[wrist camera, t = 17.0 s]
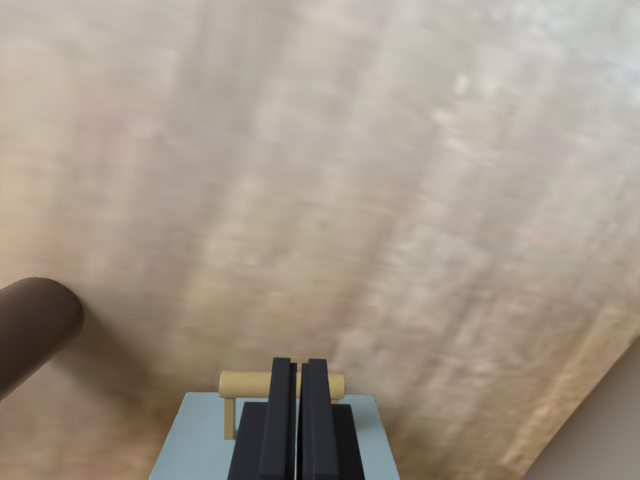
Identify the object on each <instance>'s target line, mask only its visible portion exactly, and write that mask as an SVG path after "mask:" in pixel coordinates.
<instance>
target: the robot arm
mask: <svg viewBox="0 0 640 480" xmlns="http://www.w3.org/2000/svg"><path fill="white" fill-rule="evenodd" d="M296 388H297V363H290V358H273V366H272V374H271V381H270V389H269V397H268V402H244V406H243V410H242V414H241V419H240V423H239V428H238V432H237V437H236V441H235V446H234V450H233V455H232V459H231V464H230V468H229V473H228V477H227V480H294V478H295V444H296ZM296 480H365V475H364V470H363V465H362V459H361V454H360V449H359V444H358V439H357V434H356V429H355V423H354V418H353V413H352V408H351V405H350V404H331V397H330V388H329V380H328V371H327V363H326V359H309V363H302V372H301V386H300V400H299V414H298V428H297V455H296Z"/></svg>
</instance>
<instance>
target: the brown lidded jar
mask: <svg viewBox="0 0 640 480" xmlns="http://www.w3.org/2000/svg"><path fill="white" fill-rule="evenodd" d="M82 324H83V311H82V308H81V305H80V303H79V301H78V299H77V298H76V297H75V295H74V294H73V293H72V292H71V291H70V290H69V289H67V288H66V287H65V286H63V285H61V284H60V283H58V282H55V281H53V280H50V279H45V278H36V277H35V278H26V279H22V280H19V281H17V282H15V283H13V284H11V285H9V286H7V287H5V288H3V289H1V290H0V402H1V401H2V400H3V399H5V398H6V397H7V396H8V395H9V394H10V393H12V392H13V391H14V390H15V389H16V388H17V387H18V386H20V385H21V384H22V383H23V382H24V381H25V380H27V379H28V378H29V377H30V376H31V375H32V374H34V373H35V372H36V371H37V370H38V369H39V368H40V367H42V366H43V365H44V364H45V363H46V362H47V361H49V360H50V359H51V358H52V357H53V356H54V355H55V354H57V353H58V352H59V351H60V350H61V349H62V348H64V347H65V346H66V345H67V344H68V343H69V342H70V341H72V340H73V339H74V338H75V337H76V336H77V335H78V333H79V332H80V330H81V327H82Z"/></svg>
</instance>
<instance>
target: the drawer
mask: <svg viewBox="0 0 640 480" xmlns="http://www.w3.org/2000/svg"><path fill="white" fill-rule="evenodd" d="M271 374H272V372H253V371H223V372H222V373H221V377H220V382H219V393H214V392H187V393H186V395H185V397H184V399H183V402H182V404H181V406H180V409H179V411H178V413H177V415H176V418H175V420H174V422H173V424H172V427H171V429H170V431H169V433H168V436H167V438H166V440H165V442H164V445H163V447H162V449H161V452H160V454H159V456H158V458H157V461H156V463H155V465H154V467H153V470H152V472H151V474H150V476H149V479H148V480H227V477H228V473H229V468H230V464H231V459H232V455H233V450H234V446H235V441H236V437H237V432H238V428H239V423H240V419H241V414H242V410H243V406H244V402H268V397H269V389H270V381H271ZM328 380H329V388H330V397H331V404H350V405H351V408H352V413H353V418H354V423H355V429H356V434H357V439H358V444H359V449H360V454H361V459H362V465H363V470H364V475H365V480H400V477H399V473H398V470H397V467H396V464H395V461H394V458H393V455H392V451H391V448H390V445H389V442H388V439H387V436H386V433H385V429H384V426H383V423H382V420H381V417H380V414H379V411H378V407H377V404H376V401H375V398H374V395H345V378H344V375H343V374H342V373H328ZM300 386H301V372H297V388H296V444H295V478H294V480H296V455H297V428H298V414H299V400H300Z"/></svg>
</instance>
